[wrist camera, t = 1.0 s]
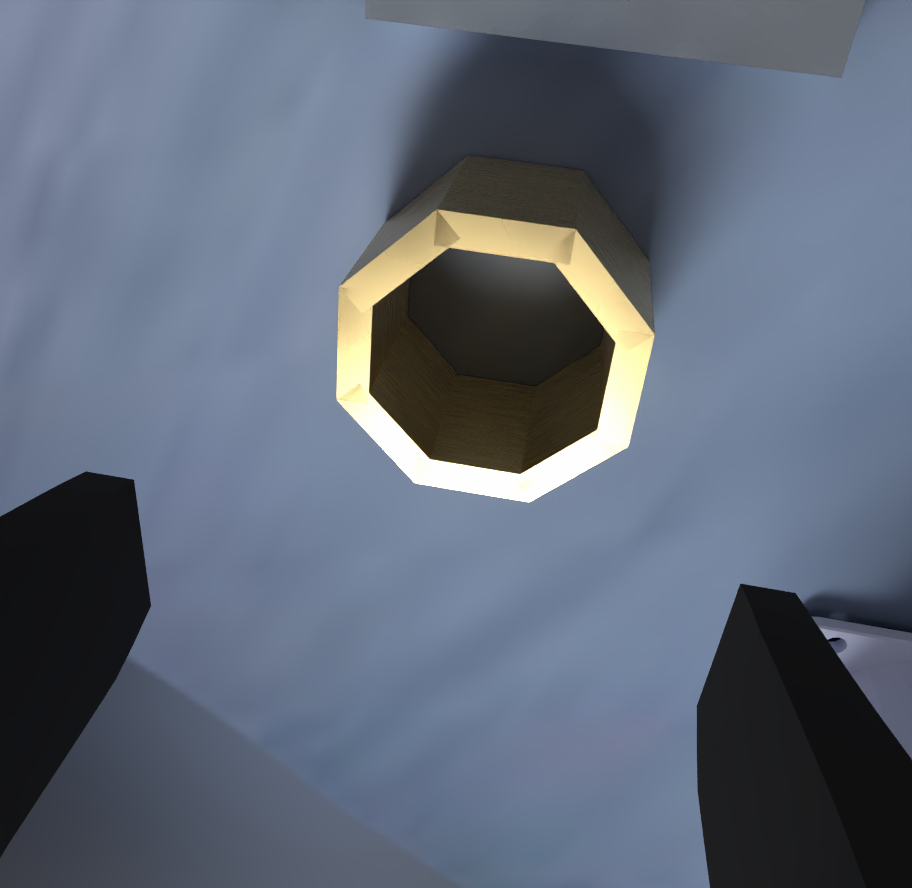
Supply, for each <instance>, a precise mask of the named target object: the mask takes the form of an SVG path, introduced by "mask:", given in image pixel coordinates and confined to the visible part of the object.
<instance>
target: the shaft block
mask: <svg viewBox="0 0 912 888" xmlns="http://www.w3.org/2000/svg"><path fill="white" fill-rule="evenodd" d="M864 4H865V0H366V12H365V18H366V19H374V20H382V21H390V22H398V23H406V24H414V25H422V26H430V27H438V28H446V29H454V30H462V31H470V32H478V33H486V34H494V35H502V36H510V37H518V38H526V39H534V40H542V41H550V42H558V43H566V44H574V45H582V46H590V47H598V48H606V49H614V50H622V51H630V52H638V53H646V54H654V55H662V56H670V57H678V58H686V59H694V60H702V61H710V62H718V63H726V64H734V65H742V66H750V67H758V68H766V69H774V70H782V71H790V72H799V73H807V74H815V75H823V76H831V77H839V78H841V77H842V74H843V71H844V68H845V64H846V61H847V58H848V55H849V52H850V48H851V45H852V42H853V39H854V36H855V32H856V29H857V26H858V23H859V20H860V16H861V13H862V10H863V7H864Z"/></svg>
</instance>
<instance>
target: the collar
mask: <svg viewBox="0 0 912 888" xmlns="http://www.w3.org/2000/svg"><path fill="white" fill-rule="evenodd" d="M448 248H455V249H462V250H469V251H476V252H483V253H489V254H496V255H503V256H510V257H517V258H524V259H531V260H537V261H544V262H551V263H555V264H556V266H557V267H558V268H559V269H560V271H561V272H562V273H563V275H564V276H565V277H566V279H567V280H568V281H569V282H570V284H571V285H572V286H573V288H574V289H575V290H576V292H577V293H578V294H579V295H580V297H581V298H582V299H583V301H584V302H585V303H586V305H587V306H588V307H589V308H590V310H591V311H592V312H593V314H594V315H595V316H596V318H597V319H598V320H599V321H600V323H601V324H602V325H603V327H604V332H603V337H602V342H601V346H599V347H597V348H596V349H594V350H593V351H591V352H589V353H588V354H586V355H585V356H583V357H582V358H580V359H578V360H577V361H575V362H574V363H572V364H570V365H569V366H567V367H566V368H564V369H563V370H561V371H559V372H558V373H556V374H555V375H553V376H551V377H550V378H548V379H547V380H545V381H544V382H542V383H540V384H539V385H537V386H536V387H535V386H528V385H522V384H515V383H509V382H503V381H496V380H490V379H484V378H477V377H471V376H465V375H458V374H457V373H456V371H455V370H454V369H453V368H452V367H451V366H450V365H449V363H448V362H447V361H446V360H445V359H444V358H443V356H442V355H441V354H440V353H439V352H438V351H437V349H436V348H435V347H434V346H433V345H432V344H431V342H430V341H429V340H428V339H427V338H426V337H425V336H424V334H423V333H422V332H421V331H420V330H419V329H418V327H417V326H416V325H415V324H414V323H413V322H412V320H411V319H410V318H409V317H408V316H407V315H408V301H409V286H410V277H411V276H412V275H414V274H415V273H416V272H417V271H419V270H420V269H421V268H423V267H424V266H425V265H427V264H428V263H429V262H431V261H432V260H433V259H435V258H436V257H437V256H439V255H440V254H441V253H442V252H444V251H445V250H446V249H448ZM654 336H655V331H654V318H653V305H652V293H651V280H650V267H649V260H648V259H647V257H646V256H645V255H644V253H643V252H642V250H641V249H640V248H639V246H638V245H637V244H636V242H635V241H634V239H633V238H632V237H631V235H630V234H629V232H628V231H627V230H626V228H625V227H624V226H623V224H622V223H621V221H620V220H619V219H618V217H617V216H616V214H615V213H614V212H613V210H612V209H611V208H610V206H609V205H608V203H607V202H606V201H605V199H604V198H603V197H602V195H601V194H600V192H599V191H598V190H597V188H596V187H595V185H594V184H593V183H592V181H591V180H590V179H589V177H588V176H587V174H586V173H585V172H584V170H577V169H570V168H562V167H555V166H548V165H540V164H533V163H526V162H519V161H511V160H504V159H497V158H489V157H482V156H475V155H468V156H466V157H465V158H464V159H463V160H461V161H460V162H459V163H458V164H456V165H455V166H454V167H453V168H451V169H450V170H449V171H448V172H447V173H445V174H444V175H443V176H442V177H440V178H439V179H438V180H437V181H435V182H434V183H433V184H432V185H431V186H429V187H428V188H427V189H426V190H424V191H423V192H422V193H421V194H419V195H418V196H417V197H416V198H415V199H413V200H412V201H411V202H410V203H408V204H407V205H406V206H405V207H403V208H402V209H401V210H400V211H398V212H397V213H396V214H395V215H394V216H392V217H391V218H390V219H389V220H387V221H386V222H385V223H384V224H383V226H382V227H381V229H380V230H379V231H378V233H377V234H376V236H375V237H374V238H373V240H372V241H371V243H370V244H369V245H368V247H367V248H366V250H365V251H364V252H363V254H362V255H361V257H360V258H359V260H358V261H357V262H356V264H355V265H354V267H353V268H352V269H351V271H350V272H349V274H348V275H347V276H346V278H345V279H344V281H343V282H342V283H341V285H340V286H339V308H338V357H337V401H338V402H339V403H340V404H341V405H342V406H343V407H344V408H345V409H346V410H347V411H348V412H349V413H350V414H351V416H352V417H353V418H354V419H355V420H356V421H357V422H358V423H359V424H360V425H361V426H362V427H363V428H364V429H365V430H366V432H367V433H368V434H369V435H370V436H371V437H372V438H373V439H374V440H375V441H376V442H377V443H378V444H379V445H380V446H381V448H382V449H383V450H384V451H385V452H386V453H387V454H388V455H389V456H390V457H391V458H392V459H393V460H394V461H395V462H396V464H397V465H398V466H399V467H400V468H401V469H402V470H403V471H404V472H405V473H406V474H407V475H408V476H409V477H410V479H411V480H412V481H413V482H414V483H418V484H424V485H430V486H436V487H442V488H448V489H453V490H459V491H465V492H471V493H477V494H483V495H489V496H495V497H501V498H507V499H513V500H519V501H525V502H530V501H532V500H534V499H536V498H538V497H539V496H541V495H543V494H545V493H547V492H548V491H550V490H552V489H554V488H555V487H557V486H559V485H561V484H563V483H564V482H566V481H568V480H570V479H572V478H573V477H575V476H577V475H579V474H580V473H582V472H584V471H586V470H588V469H589V468H591V467H593V466H595V465H597V464H598V463H600V462H602V461H604V460H605V459H607V458H609V457H611V456H613V455H614V454H616V453H618V452H620V451H622V450H623V449H625V448H627V447H628V445H629V441H630V437H631V432H632V428H633V424H634V420H635V416H636V412H637V407H638V403H639V399H640V395H641V391H642V386H643V382H644V378H645V374H646V370H647V365H648V361H649V357H650V353H651V349H652V344H653V340H654Z"/></svg>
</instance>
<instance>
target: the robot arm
mask: <svg viewBox="0 0 912 888" xmlns="http://www.w3.org/2000/svg"><path fill="white" fill-rule="evenodd" d="M150 607H151V602H150V595H149V588H148V580H147V573H146V566H145V558H144V551H143V543H142V536H141V529H140V521H139V514H138V507H137V499H136V492H135V485H134V480H132V479H126V478H120V477H115V476H109V475H103V474H97V473H91V472H84V473H82V474H80V475H78V476H76V477H74V478H72V479H70V480H68V481H66V482H64V483H62V484H60V485H58V486H56V487H54V488H52V489H50V490H48V491H46V492H45V493H43V494H41V495H39V496H37V497H35V498H34V499H32V500H30V501H28V502H26V503H24V504H23V505H21V506H19V507H17V508H15V509H14V510H12V511H10V512H8V513H6V514H4V515H3V516H1V517H0V857H1V856H2V854H3V852H4V850H5V849H6V847H7V845H8V844H9V842H10V841H11V839H12V838H13V836H14V835H15V833H16V832H17V830H18V829H19V827H20V826H21V824H22V823H23V821H24V819H25V818H26V816H27V815H28V813H29V812H30V810H31V809H32V807H33V806H34V804H35V803H36V801H37V800H38V798H39V797H40V795H41V793H42V792H43V790H44V789H45V788H46V786H47V785H48V783H49V782H50V780H51V778H52V777H53V775H54V774H55V772H56V771H57V769H58V768H59V766H60V765H61V763H62V761H63V760H64V759H65V757H66V756H67V754H68V753H69V751H70V749H71V748H72V746H73V745H74V743H75V741H76V740H77V739H78V737H79V736H80V734H81V733H82V731H83V730H84V728H85V727H86V725H87V723H88V722H89V720H90V719H91V717H92V716H93V714H94V712H95V711H96V710H97V708H98V706H99V705H100V703H101V702H102V700H103V699H104V697H105V695H106V694H107V692H108V691H109V689H110V688H111V686H112V684H113V683H114V681H115V680H116V678H117V676H118V674H119V672H120V670H121V668H122V666H123V664H124V662H125V660H126V658H127V656H128V654H129V652H130V650H131V648H132V646H133V644H134V642H135V639H136V637H137V635H138V633H139V631H140V628H141V626H142V624H143V622H144V620H145V618H146V615H147V613H148V611H149V609H150ZM831 638H841V639H840V640H837V641H835V642H828V639H831ZM697 778H698V796H699V805H700V813H701V821H702V829H703V836H704V844H705V852H706V860H707V867H708V875H709V882H710V888H912V633H908V632H903V631H897V630H891V629H886V628H880V627H874V626H868V625H863V624H857V623H851V622H845V621H840V620H834V619H828V618H823V617H811V615H810V614H809V612H808V611H807V609H806V608H805V606H804V605H803V603H802V602H801V601H800V599H799V598H798V596H797V595H796V593H791V592H786V591H780V590H774V589H768V588H762V587H756V586H751V585H745V584H740V587H739V589H738V592H737V595H736V598H735V601H734V603H733V606H732V609H731V612H730V615H729V617H728V620H727V623H726V626H725V629H724V631H723V634H722V637H721V640H720V643H719V646H718V648H717V651H716V654H715V657H714V660H713V662H712V665H711V668H710V671H709V674H708V676H707V679H706V682H705V685H704V688H703V691H702V693H701V696H700V699H699V702H698V705H697Z"/></svg>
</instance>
